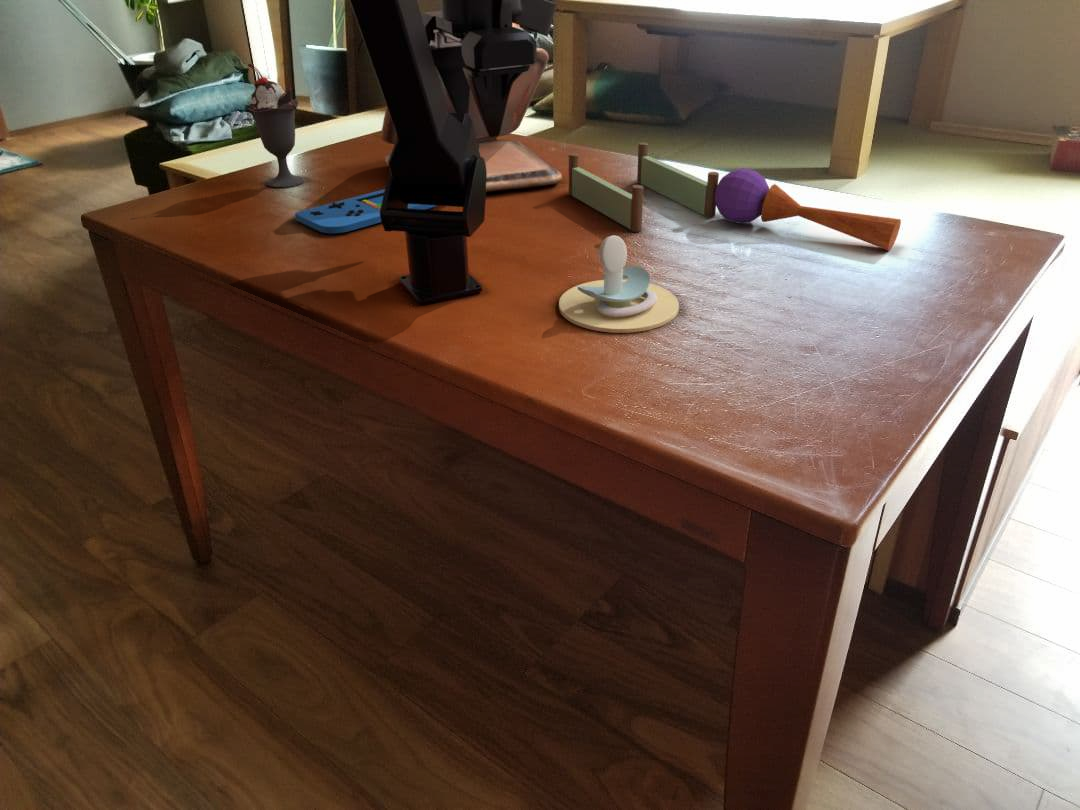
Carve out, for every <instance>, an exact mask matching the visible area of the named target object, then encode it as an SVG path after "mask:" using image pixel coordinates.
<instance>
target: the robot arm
mask: <svg viewBox="0 0 1080 810" xmlns="http://www.w3.org/2000/svg"><path fill="white" fill-rule="evenodd" d="M348 1H349V4H350V6H351V9H352V12H353V16H354V17H355V20H356V21H355V22H356V23H357V26H358V29H359V31H360V35H361V38H362V41H363V44H364V46H365V50H366V51H367V55H368V58H369V61H370V64H371V66H372V69H373V71H374V75H375V77H376V80H377V83H378V86H379V89H380V92H381V94H382V97H383V99H384V103H385V107H386V106H387V109H388V111H389V114H390V117H391V120H392V123H393V126H394V128H395V131H396V135H397V139H396V142H395V144H393V147H392V149H391V153H390V154H391V155H390V158H389V161H388V165H389V166H388V165H387V166H388V173H387V178H386V182H385V187H384V189H385V191H384V196H383V200H382V205H381V209H380V218H381V222H380V223H381V225H382V228H383V231H384V232H404V234H405V235H404V237H405V241H406V242H405V244H406V254H407V255H406V256H407V263H408V272H409V274H405V275H400V276H399V277H398V282H399V284H400V285H401V286H402V287H403V288H404V289H405V290H406V291H407V293H408V294H409V295H410V296H411V297H412V298H413V300H415V301H416V303H417V304H418V305H419V304H420V305H426V304H430V303H435V302H439V301H445V300H449V299H454V298H458V297H463V296H468V295H473V294H478V293H481V292H483V285H482V284H481V283H480V282H479V281H478V280H476V279H475V278H474V277H473V275H472V274H470V270H469V268H470V267H469V255H468V254H469V253H468V239H467V238H471V237H472V236H473V235H474V234H475V233H476V232H477V230H478V229H479V228H480V227H481V226H482V224H483V223H484V222H485V215H486V200H487V199H486V197H487V192H486V178H487V172H486V164H485V160H484V158H483V157H481V156H480V153H479V150H478V149H479V144H478V142H477V140H476V137H475V132H474V127H473V122H472V120H471V118H470V117H469V116H468V109H469V97H470V89H471V92H472V95H473V97H474V100H475V103H476V106H477V108H478V111H479V114H480V116H481V119H482V122H483V124H484V127H485V129H486V132H487V134H488V136H490V137H495V136H499V134H500V130H501V126H502V122H503V118H504V114H505V110H506V106H507V101H508V98H509V94H510V91H511V87H512V84H513V83H514V81H515V80H516V79H517V78H518V77H519V76H520V75H521V74H522V73H523V72H527V71H528V70H529V69H530V67H531V65H530V64H535V63H537V48H538V47H537V45H538V43H537V40H536V39H535V38H534V37H533V36H532V35H531V34H530V33H529V32H528V31H530V32H533V33H535V34H536V33H537V34H539V35H542V36H545V37H548V36H549V34H550V30H551V28H552V27H551V26H552V23H553V19H554V16H555V13H556V9H557V5H558V3H555V2H554V1H551V0H440V10H436V11H425V12H424V11H423V12H422V13H421V10H420V7H419V2H418V0H348ZM513 24H515V25H518V26H519V27H520V28H518V27H515V26H513ZM523 29H524V30H523ZM526 30H527V31H526ZM439 80H440V82H441V84H442V86H443V88H444V90H445V92H446V94H447V96H448V98H449V100H450V102H451V104H452V106H453V108H454V110H455V112H456V113H449V112H448V110H447V107H446V103H445V99H444V96H443V92H442V89H441V85H440V82H439ZM499 137H500V136H499ZM408 204H419V205H436V206H435V207H437V206H438V207H455V208H462V211H454V210H441V209H440V210H436V209H426V210H423V209H408Z"/></svg>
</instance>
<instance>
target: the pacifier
mask: <svg viewBox="0 0 1080 810" xmlns="http://www.w3.org/2000/svg"><path fill="white" fill-rule="evenodd" d="M627 249H628V248H627V245H626V243H625V241H624V239H622V238H621V237H620V236H618V235H615V234H614V235H609V236H607V237H606V238H604V239H603V241H602V242H601V244H600V246H599V250H598V258H599V261H600V264H601V265H602V267H603V268H604V270H603V271H604V272H603V280H604V286H603V287H589V286H578V290H579V291H581V292H582V293H584V294H586V295H588V296H590V297H593V298H596V299H598V305H597V309H598V310H599V312H600V313H602V314H605V315H608V316H629V315H634V314H638V313H640V312H643V311H645V310H647V309H649V308H651V307H652V306H653V305H654V304H655V303H656V301H657V296H656V294H655V293H654V292H652V291H649V290H647V289H648V286H649V283H651V277H650V274H649V272H648V271H647V270H646V269H645V268H644V267H642V266H639V265H630V266H626V264H627V259H628V250H627ZM623 279H627V281H625V282H622V280H623ZM640 296H641V297H644V298H646V300H645V301H643V302H642V303H640V304H637V305H635V306H631V307H625V306H627V305H629V304H630V303H631V302H632V300H634V299H637V298H638V297H640ZM622 307H625V308H622Z"/></svg>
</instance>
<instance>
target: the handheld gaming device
mask: <svg viewBox="0 0 1080 810" xmlns="http://www.w3.org/2000/svg"><path fill="white" fill-rule="evenodd" d="M384 191H385V188H384V189H380V190H376V191H373V192H369V193H365V194H361V195H357V196H354V197H349V198H345V199H341V200H337V201H334V202H330V203H326V204H322V205H318V206H315V207H311V208H307V209H302V210H299V211H296V212H294V217H295V220H296V221H297V222H299V223H301V224H303V225H305V226H307V227H309V228H311V229H314V230H316V231H318V232H320V233H323V234H345V233H348V232H353V231H355V230H359V229H363V228H367V227H369V226H373V225H377V224H380V223H382V222H381V218H380V209H381V205H382V200H383V196H384ZM436 207H437V206H436V205H419V204H408V209H423V210H430V209H432V208H436Z"/></svg>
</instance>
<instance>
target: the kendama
mask: <svg viewBox="0 0 1080 810" xmlns="http://www.w3.org/2000/svg"><path fill="white" fill-rule="evenodd" d="M715 204H716V210H717V211H718V213H719V214H720V216H722V217H723V218H724V219H725V220H726V221H729V222H732V223H736V224H738V225H739V224H740V225H741V224H747V223H752V222H754V221H755V220H756V219H758V218H761V222H763V223H768V222H773V221H779V220H784V219H788V218H794V217H800V218H802V219H805V220H807V221H810V222H813V223H816V224H818V225H820V226H824V227H826V228H828V229H831V230H834V231H837V232H839V233H842V234H844V235H847V236H849V237H852V238H853V239H854V238H855V239H857V240H859V241H862V242H864V243H867V244H870V245H872V246H876V247H878V248H881V249H883V250H886V251H888V252H890V251H891V250H892V248H893V246H894V245H895V242H896V240H897V238H898V235H899V232H900V228H901V225H902V224H901V223H902V220H901V219H900V218H893V217H886V216H879V215H871V214H864V213H856V212H849V211H843V210H842V211H841V210H833V209H826V208H819V207H811V206H805V205H801V204H800V203H798V201H796V200H795V199H794V198H793V197H791V196H790V195H789V194H788V193H787V192H786V191H784V190H783V189H782V188H781V187H780V186H778V185H777V184H776V183H774V184H772V185H771V186H769V184H768V182H767V180H766V178H765V177H764V176H763V175H761V174H760V173H759V172H757V171H756V170H753V169H750V168H744V167H743V168H738V169H734V170H732V171H730V172H727V174H725V175H724V176H722V178H721V179H720V180H719V181H718V186H717V188H716V192H715Z"/></svg>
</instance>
